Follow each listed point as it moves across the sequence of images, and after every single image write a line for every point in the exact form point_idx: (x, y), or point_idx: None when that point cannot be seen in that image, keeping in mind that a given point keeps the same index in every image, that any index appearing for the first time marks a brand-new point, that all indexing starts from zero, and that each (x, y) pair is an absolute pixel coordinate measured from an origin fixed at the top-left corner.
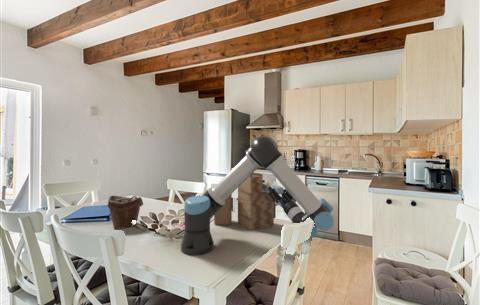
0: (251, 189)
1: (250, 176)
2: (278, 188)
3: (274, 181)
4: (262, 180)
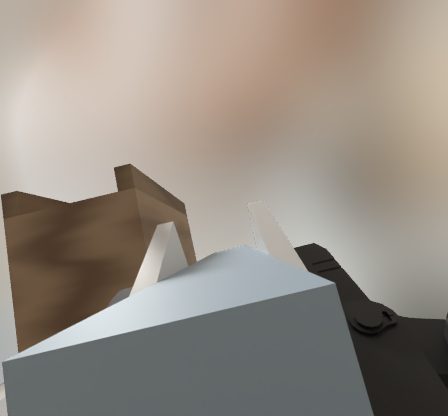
0: (26, 338)
1: (4, 211)
2: (32, 391)
3: (255, 202)
4: (140, 225)
